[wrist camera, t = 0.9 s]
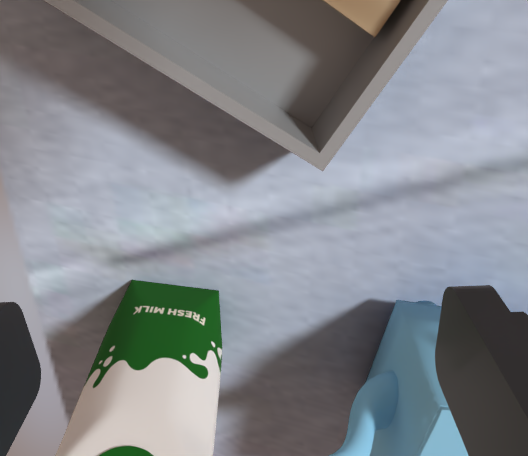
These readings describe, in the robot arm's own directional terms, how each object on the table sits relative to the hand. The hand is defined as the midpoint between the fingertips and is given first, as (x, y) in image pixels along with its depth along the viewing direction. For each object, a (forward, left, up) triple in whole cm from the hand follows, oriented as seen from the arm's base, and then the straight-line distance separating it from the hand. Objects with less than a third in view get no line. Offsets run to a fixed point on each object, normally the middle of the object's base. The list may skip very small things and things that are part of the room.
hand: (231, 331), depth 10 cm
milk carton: (+21, +5, -26) cm, 34 cm away
